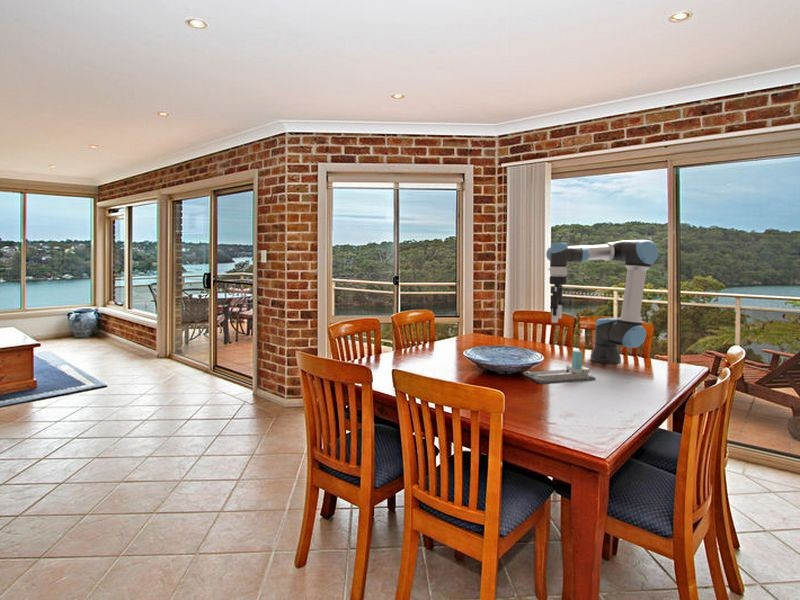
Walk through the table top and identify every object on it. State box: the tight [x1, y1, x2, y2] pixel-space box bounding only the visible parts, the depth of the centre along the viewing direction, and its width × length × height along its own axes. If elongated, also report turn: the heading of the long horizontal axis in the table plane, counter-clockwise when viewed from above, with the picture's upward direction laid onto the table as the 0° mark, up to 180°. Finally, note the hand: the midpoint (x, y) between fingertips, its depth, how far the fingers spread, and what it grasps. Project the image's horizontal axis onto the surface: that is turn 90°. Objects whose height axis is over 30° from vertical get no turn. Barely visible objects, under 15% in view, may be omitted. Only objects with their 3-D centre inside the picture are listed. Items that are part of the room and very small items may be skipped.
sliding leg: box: [565, 350, 583, 374], centre depth 219 cm, size 3×10×12 cm, turn 13°
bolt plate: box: [522, 369, 596, 385], centre depth 221 cm, size 28×16×2 cm, turn 103°
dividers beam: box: [537, 366, 591, 380], centre depth 218 cm, size 25×10×4 cm, turn 103°
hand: (556, 320), depth 223 cm, fingers open, 13 cm apart
